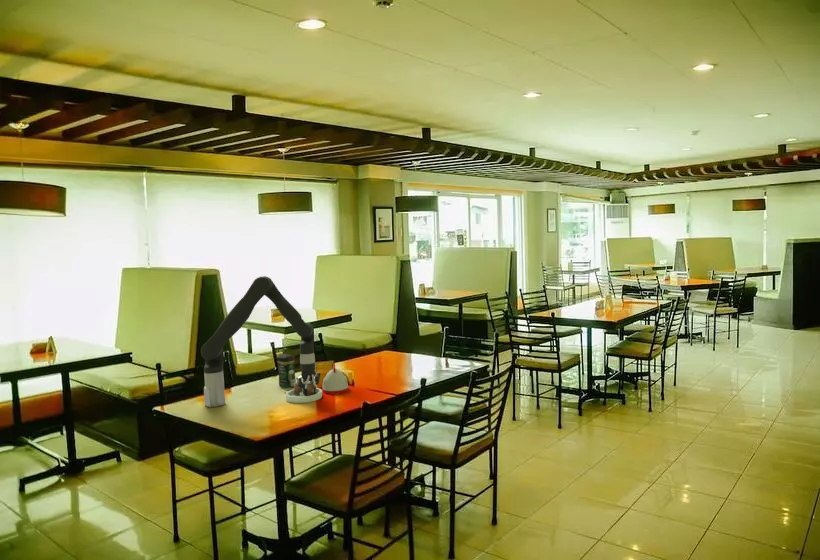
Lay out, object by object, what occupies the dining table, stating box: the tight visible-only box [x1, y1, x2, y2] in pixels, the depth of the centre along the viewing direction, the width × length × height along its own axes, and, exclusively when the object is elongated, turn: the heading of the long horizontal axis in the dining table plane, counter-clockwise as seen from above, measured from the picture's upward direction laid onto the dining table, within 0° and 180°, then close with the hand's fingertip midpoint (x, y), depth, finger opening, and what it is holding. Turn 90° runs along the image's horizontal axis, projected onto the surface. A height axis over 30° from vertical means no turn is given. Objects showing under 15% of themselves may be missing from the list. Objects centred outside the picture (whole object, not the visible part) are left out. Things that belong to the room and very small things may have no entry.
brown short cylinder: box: [306, 383, 314, 396], centre depth 292 cm, size 4×4×6 cm
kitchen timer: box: [321, 362, 349, 395], centre depth 308 cm, size 14×14×15 cm
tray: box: [285, 387, 323, 404], centre depth 296 cm, size 18×18×3 cm
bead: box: [293, 381, 303, 396], centre depth 299 cm, size 4×4×6 cm
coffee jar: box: [277, 353, 297, 389], centre depth 321 cm, size 10×8×19 cm
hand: (309, 394), depth 292 cm, fingers closed on brown short cylinder, 4 cm apart
